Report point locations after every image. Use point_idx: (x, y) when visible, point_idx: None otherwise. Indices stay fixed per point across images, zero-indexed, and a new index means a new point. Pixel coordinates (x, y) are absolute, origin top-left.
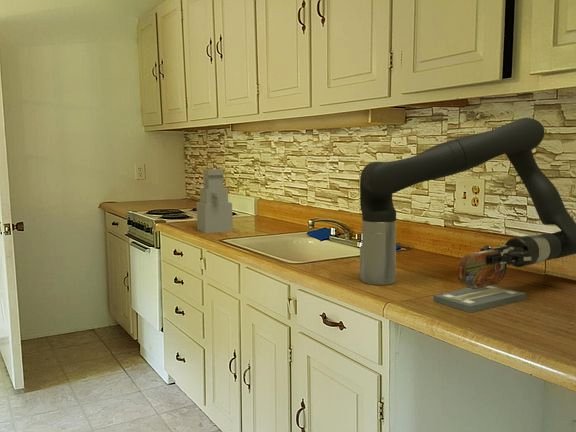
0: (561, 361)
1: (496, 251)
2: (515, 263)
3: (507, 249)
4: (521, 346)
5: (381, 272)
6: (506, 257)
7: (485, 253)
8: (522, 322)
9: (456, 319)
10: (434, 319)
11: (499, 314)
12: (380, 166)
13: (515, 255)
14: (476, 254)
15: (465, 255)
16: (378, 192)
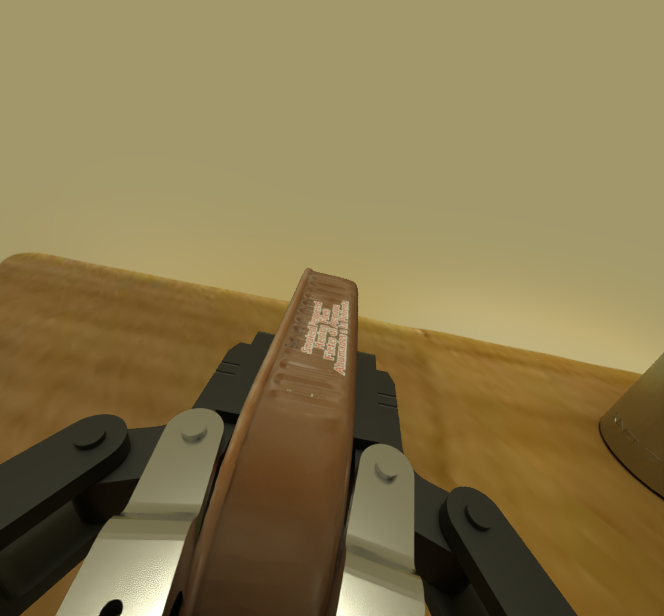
0: (25, 256)
1: (257, 423)
2: (32, 529)
3: (123, 609)
4: (97, 273)
5: (627, 397)
6: (135, 436)
7: (294, 326)
8: (84, 368)
9: (253, 318)
10: (288, 303)
11: (166, 392)
12: None
13: (2, 476)
14: (304, 274)
15: (352, 281)
16: None
